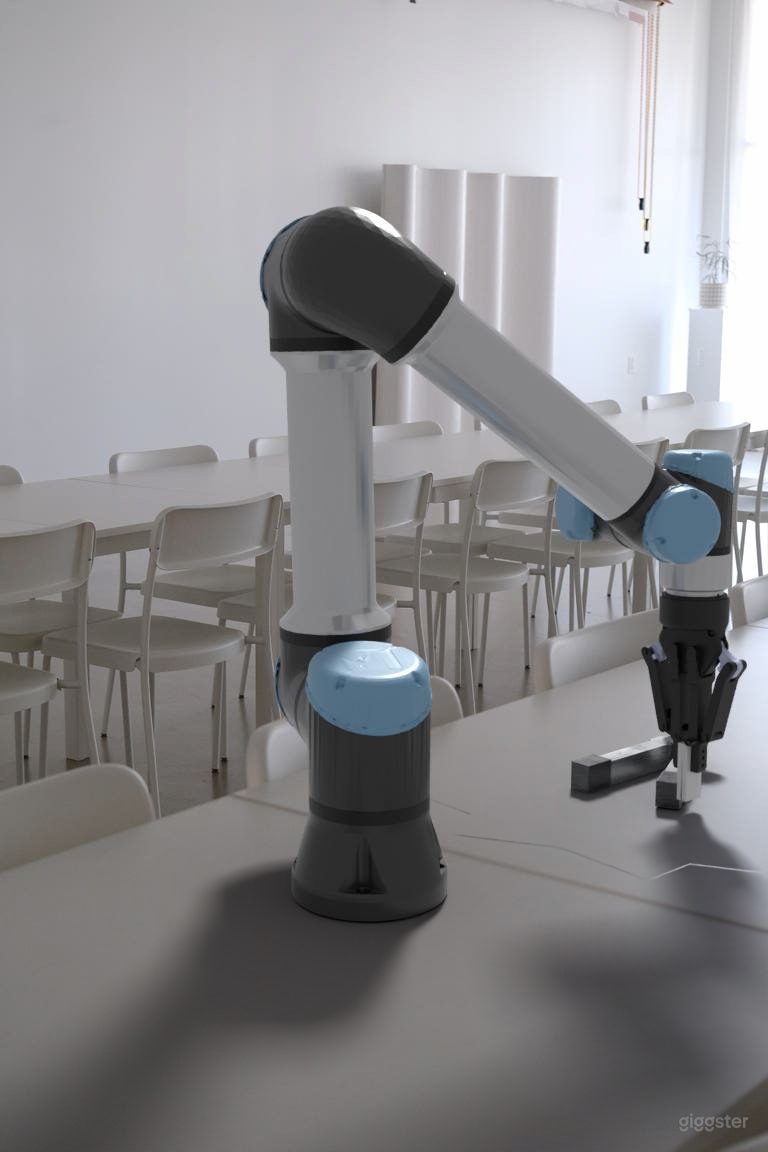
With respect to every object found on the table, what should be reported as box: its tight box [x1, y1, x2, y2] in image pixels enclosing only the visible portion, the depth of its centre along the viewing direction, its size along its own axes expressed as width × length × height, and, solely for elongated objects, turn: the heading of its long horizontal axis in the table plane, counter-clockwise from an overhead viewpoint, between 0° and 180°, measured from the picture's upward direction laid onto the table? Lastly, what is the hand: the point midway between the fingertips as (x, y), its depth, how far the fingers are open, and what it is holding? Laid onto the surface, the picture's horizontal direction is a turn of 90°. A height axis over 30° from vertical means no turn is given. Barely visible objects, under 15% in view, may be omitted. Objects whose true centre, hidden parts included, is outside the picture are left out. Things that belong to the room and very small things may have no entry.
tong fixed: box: [570, 735, 673, 794], centre depth 168 cm, size 18×5×3 cm, turn 131°
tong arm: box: [654, 735, 684, 810], centre depth 165 cm, size 18×5×3 cm, turn 158°
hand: (688, 797), depth 156 cm, fingers closed
